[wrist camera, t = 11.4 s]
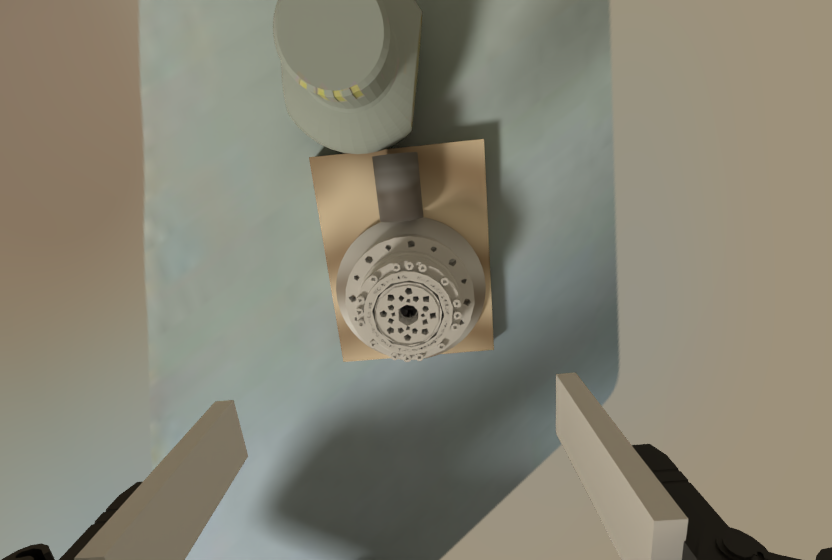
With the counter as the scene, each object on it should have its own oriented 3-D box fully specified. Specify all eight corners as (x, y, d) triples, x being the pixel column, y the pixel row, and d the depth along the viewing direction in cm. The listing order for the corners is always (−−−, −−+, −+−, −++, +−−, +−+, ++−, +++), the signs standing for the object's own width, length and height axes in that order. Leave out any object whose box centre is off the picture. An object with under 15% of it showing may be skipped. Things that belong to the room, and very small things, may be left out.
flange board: (490, 342, 34) (501, 368, 29) (346, 353, 35) (335, 381, 30) (480, 140, 29) (491, 135, 25) (314, 158, 30) (295, 155, 25)
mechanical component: (468, 352, 32) (476, 235, 29) (475, 381, 28) (486, 246, 25) (349, 348, 32) (347, 231, 29) (338, 376, 28) (334, 241, 25)
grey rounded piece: (410, 160, 30) (403, 156, 20) (304, 149, 30) (248, 140, 20) (425, -2, 27) (426, -97, 17) (307, -15, 27) (243, -118, 17)
